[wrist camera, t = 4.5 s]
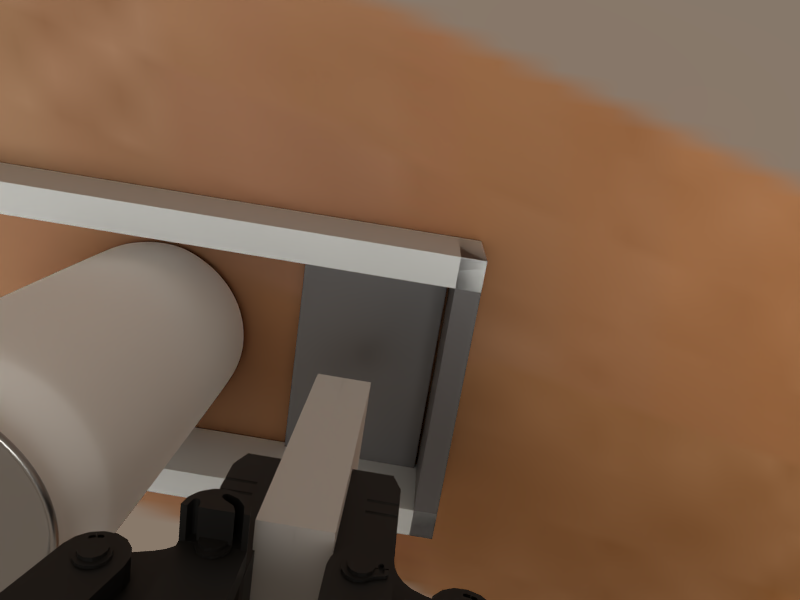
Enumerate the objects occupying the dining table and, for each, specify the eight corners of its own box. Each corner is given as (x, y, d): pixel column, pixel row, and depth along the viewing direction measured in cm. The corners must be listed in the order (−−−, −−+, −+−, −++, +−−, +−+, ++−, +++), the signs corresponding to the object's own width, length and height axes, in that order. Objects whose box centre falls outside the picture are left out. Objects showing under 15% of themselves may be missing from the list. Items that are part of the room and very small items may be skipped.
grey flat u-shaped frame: (481, 241, 23) (487, 261, 20) (432, 490, 26) (432, 538, 23) (-87, 148, 23) (-162, 154, 20) (-71, 405, 26) (-134, 443, 23)
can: (253, 251, 23) (76, 397, 12) (241, 415, 25) (78, 677, 14) (74, 225, 24) (-273, 345, 12) (75, 390, 25) (-223, 629, 14)
